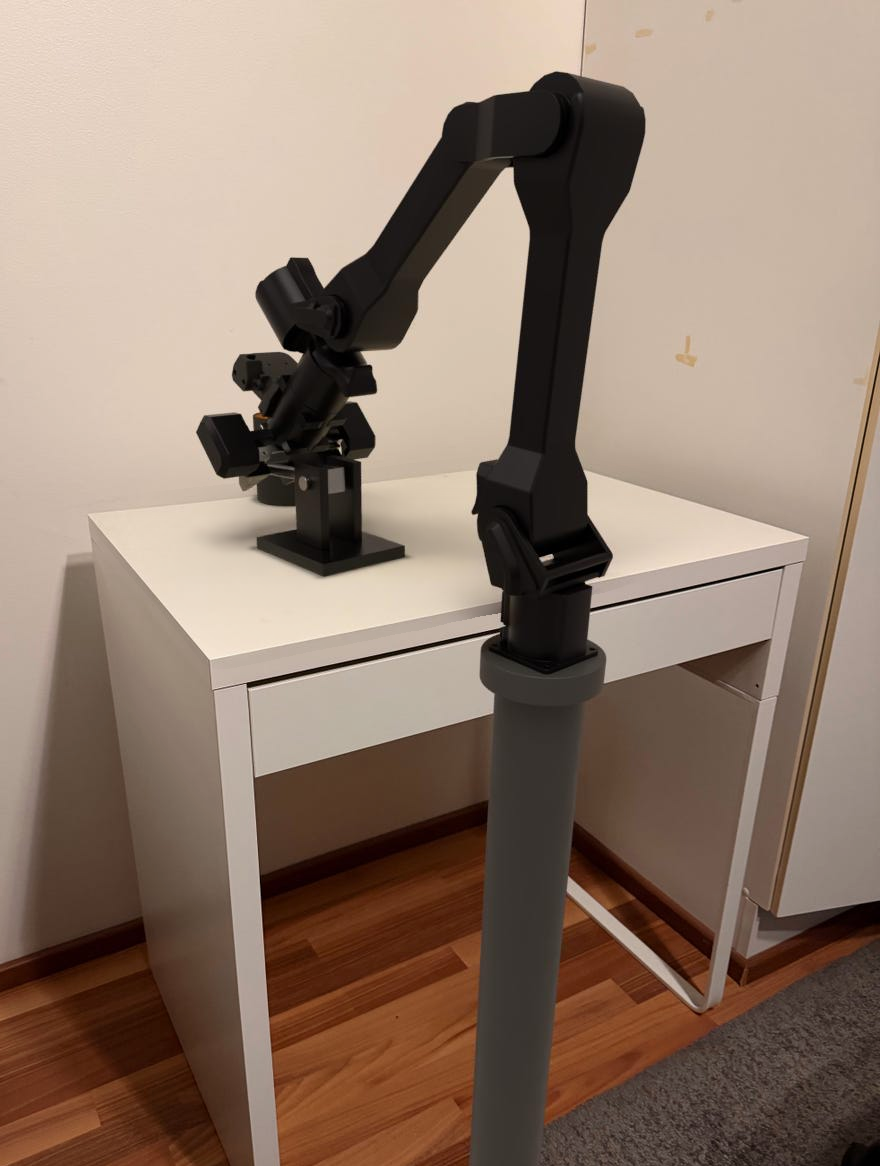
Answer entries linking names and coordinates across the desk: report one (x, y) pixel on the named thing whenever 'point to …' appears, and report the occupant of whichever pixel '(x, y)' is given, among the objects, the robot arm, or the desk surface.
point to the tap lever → (334, 472)
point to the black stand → (329, 524)
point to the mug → (272, 485)
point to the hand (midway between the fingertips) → (263, 484)
